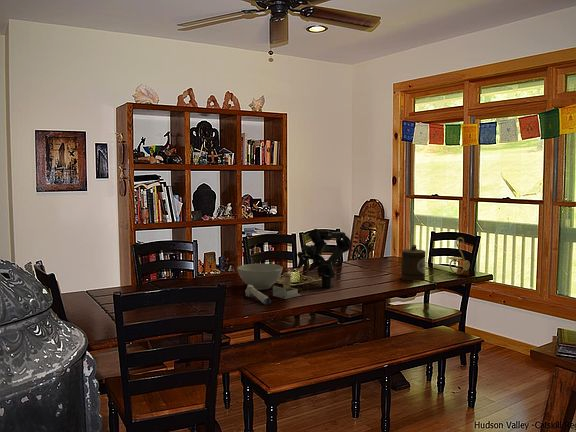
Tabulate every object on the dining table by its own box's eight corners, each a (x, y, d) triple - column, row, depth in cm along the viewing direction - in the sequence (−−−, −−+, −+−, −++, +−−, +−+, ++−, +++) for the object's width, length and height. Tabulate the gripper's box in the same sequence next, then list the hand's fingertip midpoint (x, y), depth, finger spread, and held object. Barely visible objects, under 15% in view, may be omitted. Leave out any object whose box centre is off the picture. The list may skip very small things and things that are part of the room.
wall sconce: (470, 275, 338) (471, 237, 336) (461, 276, 333) (462, 238, 330) (453, 271, 349) (454, 235, 347) (444, 273, 344) (445, 236, 342)
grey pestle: (263, 298, 260) (243, 282, 281) (262, 310, 261) (243, 294, 282) (272, 297, 262) (252, 281, 283) (271, 309, 263) (251, 293, 285)
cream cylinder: (288, 293, 284) (288, 272, 283) (291, 294, 280) (291, 273, 279) (282, 294, 282) (282, 272, 281) (285, 295, 278) (285, 274, 277)
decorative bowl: (291, 285, 306) (291, 265, 305) (266, 294, 283) (266, 273, 282) (254, 281, 320) (254, 262, 319) (228, 289, 297) (228, 268, 296)
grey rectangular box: (288, 292, 289) (288, 282, 288) (301, 295, 281) (301, 285, 281) (272, 295, 280) (272, 285, 280) (285, 299, 273) (285, 288, 273)
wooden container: (424, 281, 317) (424, 246, 315) (400, 280, 322) (400, 245, 320) (425, 277, 331) (426, 243, 329) (402, 275, 336) (403, 242, 334)
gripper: (299, 237, 296) (284, 258, 289) (321, 241, 281) (307, 263, 275) (309, 249, 301) (295, 270, 295) (331, 253, 287) (317, 275, 281)
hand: (303, 269), depth 286 cm, fingers open, 9 cm apart
